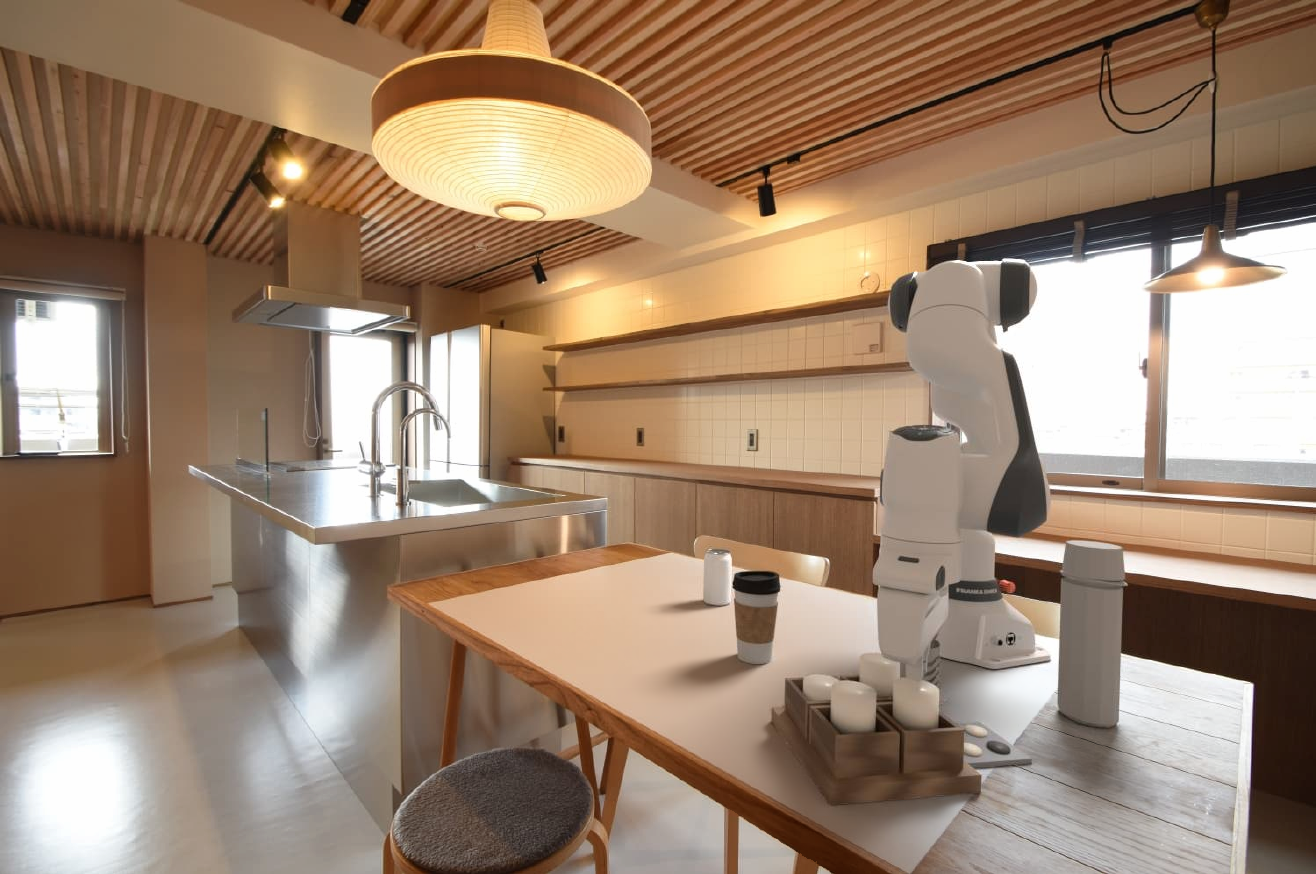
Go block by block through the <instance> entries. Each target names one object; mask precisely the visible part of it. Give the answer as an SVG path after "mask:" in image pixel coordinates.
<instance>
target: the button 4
mask: <svg viewBox="0 0 1316 874" xmlns="http://www.w3.org/2000/svg"><path fill="white" fill-rule="evenodd" d="M939 689H940V688H939ZM939 689H938V688H937V687H936V686H935V685H933V684H932V683H930V682H927V681H924V680H921V681H920V682H917V681H913V680H909V679H908V678H898V679H896V680H894V682H893V717H892V718H893V719H894V720H895V721H896V722H897V723H899V724H900V725H901V726H902V727H903V728H904V729H905V730H907V731H908V730H923V729H938V720H939V711H940V708H939V707H940V705H939Z"/></svg>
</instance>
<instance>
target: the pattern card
mask: <svg viewBox="0 0 1316 874" xmlns="http://www.w3.org/2000/svg"><path fill="white" fill-rule="evenodd" d="M955 723H956V724H957V725H959V726H960V727H961V728H963V729H964V758H963V760H964V761H965V762H967V763H968V764H969V765H970V766H971V767H973V768H974V769H975V768H976V769H977V768H986V767H987V768H989V767H1001V766H1002V767H1003V766H1012V765H1027V764H1032V760H1033V759H1032V758H1031V757H1030V756H1029V755H1027V754H1026V753H1025V752H1023V751H1022V750H1021V749H1019V748H1017V747H1016V746H1015V745H1013V744H1012V743H1010V742H1009V741H1008V740H1007V739H1004V737H1002V736H1000V735H999V734H998V733H996V731H995V732H994V731H993V730H992V729H991V728H989V727H988V726H986V725H985V724H983V723H982V722H981V721H970V722H969V721H968V722H955Z"/></svg>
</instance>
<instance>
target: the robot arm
mask: <svg viewBox="0 0 1316 874" xmlns="http://www.w3.org/2000/svg"><path fill="white" fill-rule="evenodd" d="M1037 295H1038V284H1037V279H1036V276H1035V274H1034V273H1033V271H1032V269H1031V265H1030V264H1029V263H1028V262H1026V261H1025V259H1016V258H1002V260H1001V261H998V260H993V261H992V260H991V261H987V260H986V261H985V260H984V261H972V262H971V261H970V262H967V261H964V260H947V261H944V262H940V263H938V264H935V265H934V266H932V267H931V268H930V269H928V270H924V271H921V272H917V271H912V272H909V273H907V274H903V275H902V276H900V277H898V278H897V279H896V280H895V281H894V282H893V283H892V285H891V289H890V292H889V294H888V300H887V310H888V311H887V312H888V315H889V317H890V318H889V319H890V320H891V322H892V326H893V327H894V328H896V329H897V330H898V331H899V332H902V333H905V334H906V335H905V352H906V359H907V361H908V363H909V365H910V367H911V368H912V370H914V372H915V373H916V374H917V375H919V376H920V377H921V378H923V379H924V380H926V381H927V382H929V384H930V388H929V389H930V395H929V396H930V399H929V400H930V408H931V411H932V413H933V414H934V415H935V416H936V417H937V418H939V420H942V421H943V422H944V423H948V424H950V425H951V426H954V427H957V428H958V429H959V430H961V431H962V433H963V434H964V436H965V438H966V440H967V441H964V442H961V441H960V436H959V433H958V432H957V431H956V430H954V429H953V428H950V427H947V426H941V425H938V424H937V425H936V424H935V425H934V424H916V425H915V424H913V425H905V426H902V427H901V426H900V427H897V428H895V429H894V430H892V431H891V432H890V434H889V437H888V441H887V445H886V451H885V456H884V461H883V462H884V463H883V468H882V469H881V471H880V478H879V480H880V483H879V502H880V504H881V505H882V506H883V508H884V509H883V510H884V518H883V523H882V525H881V529H880V546H879V551H878V552H879V555H878V558H877V560H876V562H875V564H874V566H873V569H872V583H873V585H875V586H879V588H878V590H877V595H876V596H877V599H876V600H877V601H876V605H877V606H876V609H877V610H876V611H877V612H876V614H877V616H876V617H877V636H878V641H877V642H878V647H879V651H880V654H882V656H883V657H884V658H886V659H889V660H893V661H896V662H901V663H905V664H906V678H908V679H909V680H913V681H917V682H920V681H921V680H922V679H923V677H924V675H925V674H926V672H927V660H928V655H929V650H930V645H931V641H932V640H933V639H934V637H935V636H936V634H937V633H938V636H937V637H936V640H937V641H938V642H939V643H940V653H939V655H940V658H943V659H944V658H945V659H947V660H952V661H956V662H961V663H967V664H972V665H976V666H980V667H983V668H987V669H991V670H998V669H1004V668H1011V667H1016V666H1017V667H1018V666H1023V665H1024V666H1025V665H1028V664H1035V663H1042V662H1048V661H1051V660H1052V659H1051V653H1049V651H1048V650H1047V649H1045V648H1044V647H1042V646H1041V645H1039V644H1038V643H1036V635H1035V633H1036V632H1035V629H1034V627H1033V624H1032V622H1031V621H1030V620H1029V619H1028V618H1027V617H1026V616H1025V615H1023V613H1021V612H1020V611H1019V610H1017V609H1016V608H1015V607H1014V606H1013V605H1012V604H1010V603H1009V602H1008V601H1007V600H1006V599H1004V598H1003V594H1002V592H1007V593H1008V594H1012V593H1014V592H1015V591H1016V585H1015V583H1014V582H1012V581H1008V580H1005V579H1002V580H999V579H998V578H997V577H995V567H996V566H995V563H996V559H995V557H996V540H995V536H993V534H995V535H1000V536H1006V537H1007V536H1008V537H1012V538H1018V539H1019V538H1021V537H1023V536H1025V535H1028V534H1030V533H1031V532H1033V531H1035V530H1036V529H1038V528H1040V527H1041V526H1042V525H1043V524H1045V523H1046V522H1047V519H1048V515H1049V513H1050V511H1051V501H1052V500H1051V499H1052V498H1051V497H1052V496H1051V495H1052V494H1051V489H1050V485H1049V484H1050V483H1049V481H1048V478H1047V469H1046V465H1045V463H1044V459H1042V457H1041V456H1040V455H1039V452H1038V448H1037V444H1036V439H1035V435H1034V431H1033V426H1032V421H1031V415H1030V411H1029V407H1028V402H1027V397H1026V392H1025V389H1024V384H1023V380H1022V377H1021V372H1020V369H1019V366H1018V363H1017V360H1016V359H1015V357H1014V354H1013V353H1012V352H1011V351H1009V350H1007V349H1004V348H1001V347H1000V346H999V345H998V341H997V340H998V339H997V333H996V328H995V326H996V327H997V326H998V327H999V326H1001V327H1002V333H1006V332H1008V331H1009V328H1010V327H1013V326H1014V325H1017V324H1020V323H1021V322H1022V321H1023V320H1024V319H1026V318H1027V317H1028V316H1029V315H1030V311H1031V310H1032V308H1033V307H1034V304H1035V303H1036V299H1037V297H1038V296H1037Z"/></svg>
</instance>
